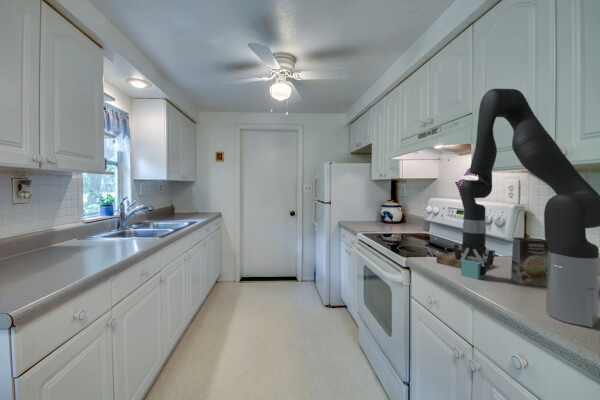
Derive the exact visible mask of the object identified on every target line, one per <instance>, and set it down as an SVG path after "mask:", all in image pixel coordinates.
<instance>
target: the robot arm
mask: <svg viewBox="0 0 600 400" xmlns="http://www.w3.org/2000/svg"><path fill="white" fill-rule="evenodd" d="M533 111H534V110H533V109H532V108H531V106H530V104H529V102H528V100H527V98H526V97H525V95H524V94H523V92H521V90H519V89H514V88H492V89H489V90H487V91H486V92H485V93H484V95H483V96H482V98H481V100H480V103H479V109H478V116H477V117H478V119H477V129H476V140H475V147H474V152H473V156H472V160H471V163H470V165H469V166H470V168H469V172H470V173H471V174H472V175H475V176H477V177H478V179H474V180H473V179H466V180H463V181H462V182H461V183H460V185H459V188H458V189H459V196H460V199H461V202H462V207H463V222H462V243H461V244H460V243H458V244H454V245H453V248H454V252H455V258H456V259H458V260H460V262H461V260H465V259H467V258H468V257H469V256H473V257H476V258H477V259H478V261H479V262H480V264H481V266H480V276H484V275H485V276H486V274H487V268H488V267H487V266H489V267H490V265H491V266H493V263H494V259H495V254H496V250H494V249H488V248H487V246H486V237H487V236H486V235H487V234H486V233H487V223H486V206H485V205H483V204H479V203H477V201H476V199H484V198H487V197H488V196H490V194H491V192H492V190H493V168H494V166H495V162H496V159H497V154H498V153H497V152H498V149H497V145H496V144H497V143H496V141H495V136H494V126H495V122H496V119H497V118H503V119H505V120H506V121H507V122H508V123H509V125H510V126H511V128H512V130H513V136H512V143H511V148H512V150H513V152H514V154H515V156H516V158H517V159H518V161H519V162H520V164H521V165H522V166H523V168H525V169H526V170H527V171H528V172H530V173H531V174H533V175H534V177H535V176H536V177H537V178H538V179H540V180H541V181H542V182H544V183H545V184H546V185H548V186H549V187H550V188H551V189H552V190H553V191H554V193H555V195H554V196H552V197H550V198H549V199H548V201H547V202H546V203H545V206H544V211H543V213H544V214H543V222H544V224H543V225H544V240H546V242H547V244H548V271H547V287H546V298H545V299H546V303H545V312H546V314H547V315H549V316H550V317H552V318H553V319H556V320H559V321H561V322H565V323H568V324H572V325H576V326H583V327H588V328H592V329H593V328H594V326H596V324H597V323H598V321H599V319H598V318H599V317H598V316H599V300H600V299H599V295H600V286H599V285H598V278H599V277H598V275H599V274H598V273H599V254H600V253H599V252H600V249H599V247H598V246H597V245H596V244H595V243H592V242H590V241H589V240H588V239H587V236H586V235H587V233H586V229H594V228H600V194H599V193H598V192H597V191H596V190H595V189H594V188H593V187H592V185H590V183H588V182H587V181H586V180H585V178H584V177H582V176H581V174H580V173H579V172H578V170H577V169H576V168H575V166H574V165H573V164H572V162H571V161H570V160H569V159H568V158H567V156H566V155H565V154H564V153H563V151H562V150H561V148H560V146H559V145H558V143H556V141H555V140H554V138H553V137H552V136H551V135H550V134H549V132H547V130H546V129H545V127H544V126H543V124H542V123H541V122H540V120H539V119H538V118H537V116H536V115H535V113H534V112H533ZM462 250H463V251H464V252H462ZM461 253H463V255H462V257H461ZM485 253H486V255H487V257H485V255H484V254H485ZM485 258H487V262H486V260H485Z"/></svg>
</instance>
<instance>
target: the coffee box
mask: <svg viewBox="0 0 600 400" xmlns="http://www.w3.org/2000/svg"><path fill="white" fill-rule="evenodd" d="M511 250H512V251H511V253H512V254H511V268H510V269H511V270H510V273H511V274H510V279H511V280H513V282H515V283H517V284H519V285H526V286H535V287H546V288H547V271H548V244H547V242H546V240H545V239H542V238H533V237H516V236H515V237H512V249H511Z"/></svg>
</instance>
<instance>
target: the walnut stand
mask: <svg viewBox="0 0 600 400" xmlns="http://www.w3.org/2000/svg"><path fill="white" fill-rule="evenodd" d="M463 253H464V252H461V257H462V255H463ZM468 258H470V259H475V260H478V259H477V258H476V257H473V256H469V257H468ZM468 258H467V259H468ZM487 258H488V257H485V260H486V262H487ZM436 264H440V265H445V266H449V267H454V268H458V269H461V262H460V260H458V259H456V258H455V251H452V252H447V253H445V254H440V255H436ZM490 266H492V265H490ZM490 266H487V267H486V268H488V267H490Z"/></svg>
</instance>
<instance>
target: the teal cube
mask: <svg viewBox="0 0 600 400" xmlns="http://www.w3.org/2000/svg"><path fill="white" fill-rule="evenodd" d="M480 266H481V264H480V262H479V261H478V260H475V259H470V258H468V259H465V260H461V268H460V276H462V277H466V278H470V279H474V280H481V279H483V278H485V277H486V274H485V275H484V276H480Z"/></svg>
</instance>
